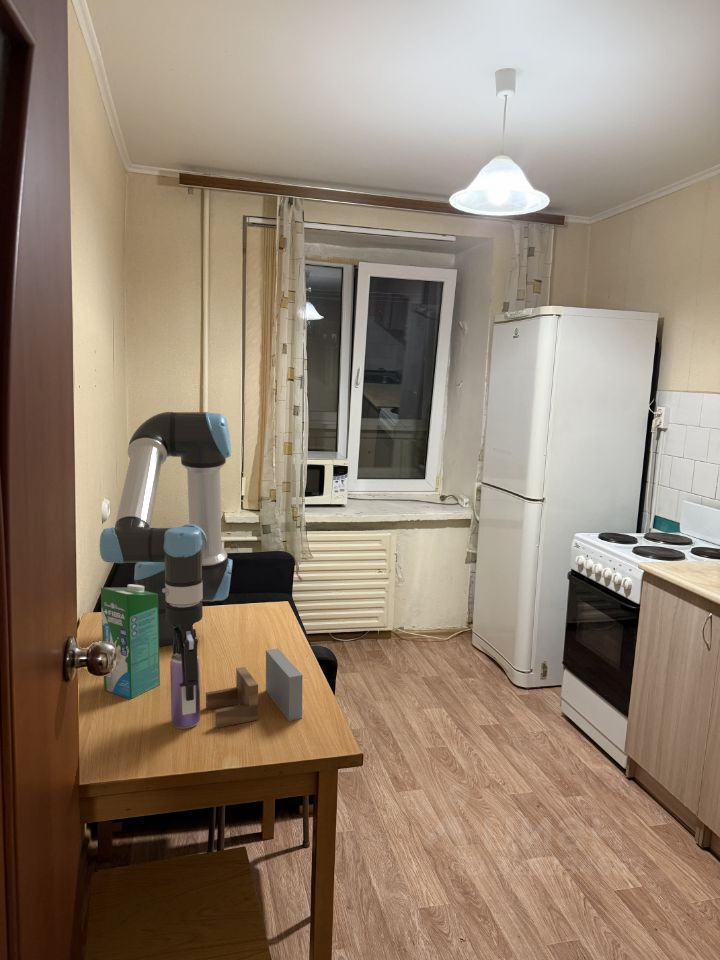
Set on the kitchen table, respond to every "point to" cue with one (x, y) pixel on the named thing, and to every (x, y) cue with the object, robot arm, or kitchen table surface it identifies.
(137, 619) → the milk carton
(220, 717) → the bracket
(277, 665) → the backstop
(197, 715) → the beverage can
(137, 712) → the kitchen table surface
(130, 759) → the kitchen table surface
